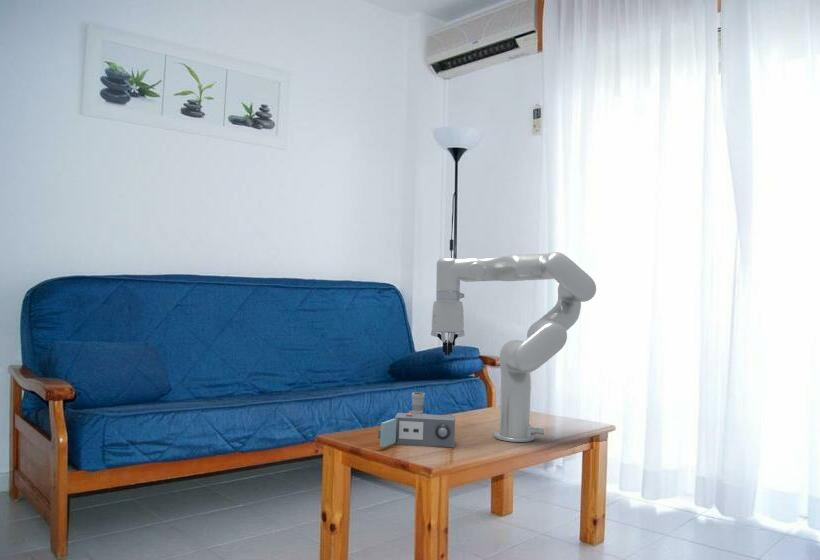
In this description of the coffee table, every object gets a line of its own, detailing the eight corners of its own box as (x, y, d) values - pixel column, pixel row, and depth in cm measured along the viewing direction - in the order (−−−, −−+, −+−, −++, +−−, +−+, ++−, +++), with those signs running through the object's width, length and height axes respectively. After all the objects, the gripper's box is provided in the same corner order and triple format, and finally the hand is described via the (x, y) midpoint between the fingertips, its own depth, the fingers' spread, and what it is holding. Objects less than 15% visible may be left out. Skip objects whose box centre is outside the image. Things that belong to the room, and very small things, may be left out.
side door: (383, 447, 184) (383, 423, 185) (377, 446, 185) (378, 422, 185) (395, 442, 192) (396, 419, 192) (390, 441, 192) (391, 418, 193)
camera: (424, 391, 226) (446, 398, 212) (423, 424, 225) (445, 434, 212) (402, 392, 222) (423, 399, 208) (401, 426, 221) (422, 436, 208)
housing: (454, 441, 200) (455, 413, 200) (453, 448, 191) (454, 419, 191) (396, 438, 201) (397, 410, 202) (393, 444, 192) (394, 415, 193)
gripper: (471, 297, 209) (470, 354, 208) (425, 296, 209) (424, 353, 209) (471, 297, 201) (471, 356, 201) (424, 296, 202) (423, 355, 201)
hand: (447, 354), depth 205 cm, fingers closed
